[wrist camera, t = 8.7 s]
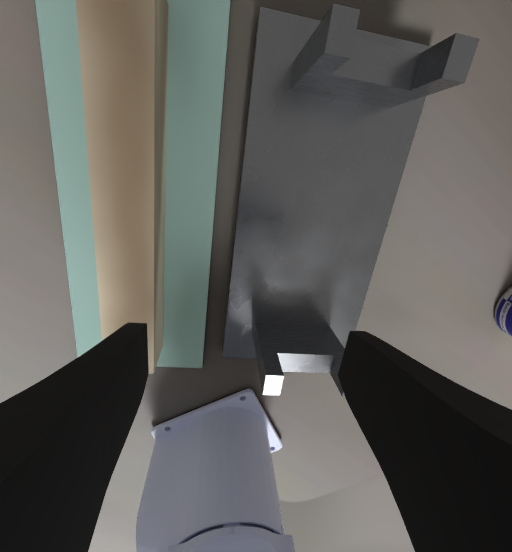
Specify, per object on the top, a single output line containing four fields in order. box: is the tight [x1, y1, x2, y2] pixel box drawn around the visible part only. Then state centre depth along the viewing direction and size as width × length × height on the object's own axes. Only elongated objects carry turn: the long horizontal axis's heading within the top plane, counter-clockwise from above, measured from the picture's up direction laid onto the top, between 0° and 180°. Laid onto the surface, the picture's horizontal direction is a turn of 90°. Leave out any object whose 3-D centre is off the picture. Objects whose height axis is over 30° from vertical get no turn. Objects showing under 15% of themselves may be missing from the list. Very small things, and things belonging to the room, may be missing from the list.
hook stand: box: [223, 3, 479, 396], centre depth 16 cm, size 10×21×6 cm, turn 172°
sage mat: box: [35, 0, 231, 368], centre depth 17 cm, size 9×24×1 cm, turn 172°
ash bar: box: [76, 0, 169, 374], centre depth 16 cm, size 3×20×3 cm, turn 173°
